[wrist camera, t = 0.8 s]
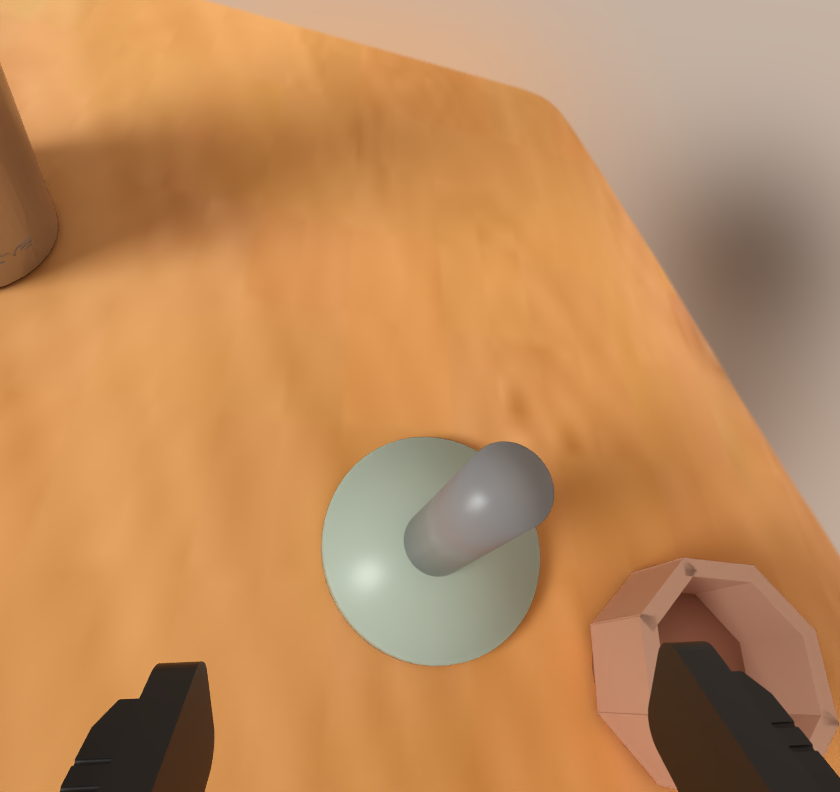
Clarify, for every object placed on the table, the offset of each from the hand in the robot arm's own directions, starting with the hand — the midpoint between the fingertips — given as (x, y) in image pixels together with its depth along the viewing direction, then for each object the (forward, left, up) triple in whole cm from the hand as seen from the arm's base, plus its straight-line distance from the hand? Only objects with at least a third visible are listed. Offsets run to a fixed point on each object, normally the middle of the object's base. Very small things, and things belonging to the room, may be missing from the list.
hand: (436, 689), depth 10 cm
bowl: (+13, +15, -20) cm, 28 cm away
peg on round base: (-1, +9, -20) cm, 22 cm away
